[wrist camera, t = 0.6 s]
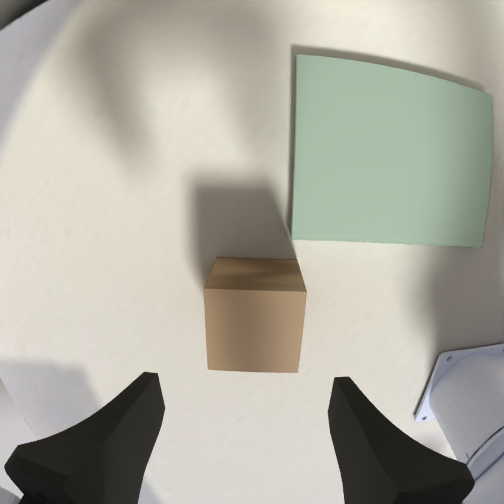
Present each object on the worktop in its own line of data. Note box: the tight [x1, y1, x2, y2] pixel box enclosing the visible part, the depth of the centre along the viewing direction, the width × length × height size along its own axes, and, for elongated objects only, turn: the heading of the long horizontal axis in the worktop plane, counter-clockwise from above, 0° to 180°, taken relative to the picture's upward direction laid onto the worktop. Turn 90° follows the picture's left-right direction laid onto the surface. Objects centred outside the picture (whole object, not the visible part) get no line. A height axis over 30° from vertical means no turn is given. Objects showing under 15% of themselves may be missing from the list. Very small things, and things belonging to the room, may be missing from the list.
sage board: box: [290, 54, 493, 248], centre depth 18 cm, size 14×11×1 cm
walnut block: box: [204, 257, 307, 373], centre depth 19 cm, size 5×5×5 cm
